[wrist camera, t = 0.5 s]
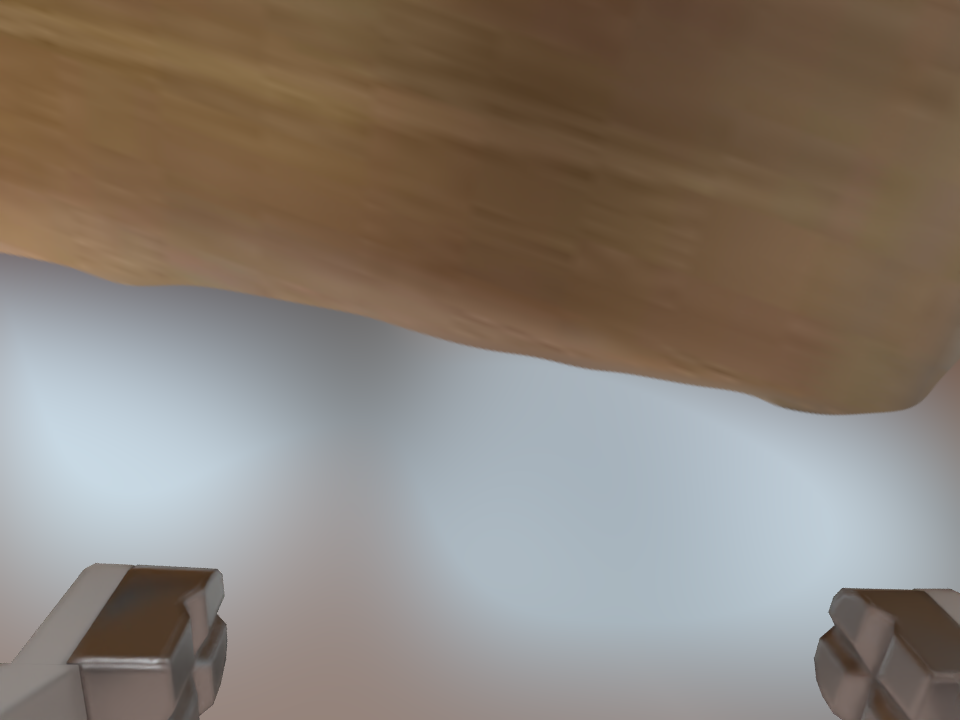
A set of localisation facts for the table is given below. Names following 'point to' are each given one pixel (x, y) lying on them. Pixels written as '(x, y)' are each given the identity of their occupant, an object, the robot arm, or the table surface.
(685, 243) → the table surface
